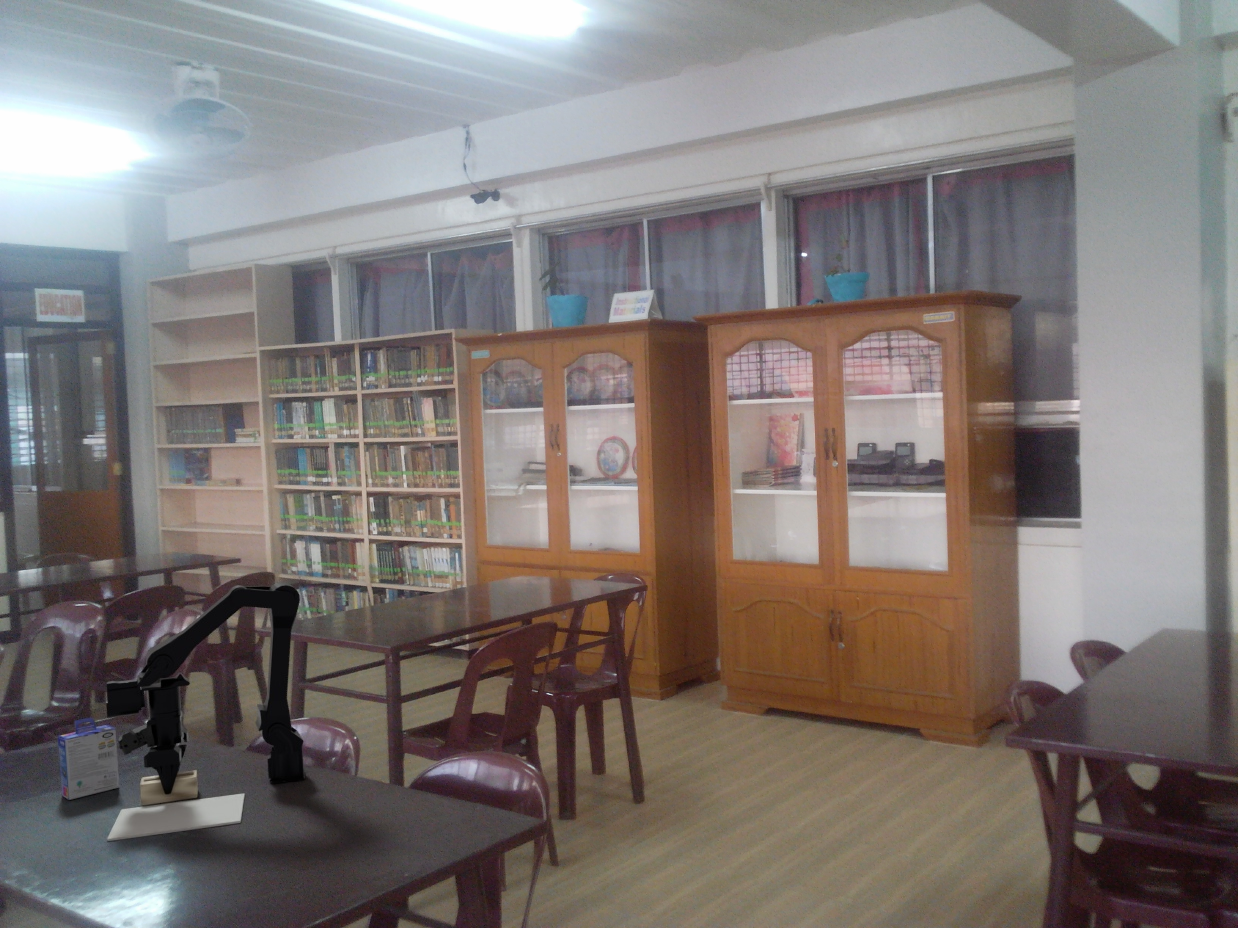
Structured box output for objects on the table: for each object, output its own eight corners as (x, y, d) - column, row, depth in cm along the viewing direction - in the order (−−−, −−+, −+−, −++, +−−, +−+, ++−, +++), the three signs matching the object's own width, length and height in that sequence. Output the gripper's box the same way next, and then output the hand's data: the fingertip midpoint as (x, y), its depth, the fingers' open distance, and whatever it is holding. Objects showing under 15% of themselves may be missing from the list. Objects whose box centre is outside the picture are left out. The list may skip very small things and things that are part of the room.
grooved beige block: (197, 789, 215) (196, 768, 215) (197, 797, 210) (196, 775, 210) (143, 797, 211) (141, 776, 211) (141, 805, 207) (140, 783, 207)
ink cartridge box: (111, 782, 222) (107, 712, 222) (121, 787, 218) (117, 716, 218) (59, 795, 215) (55, 723, 215) (69, 801, 211) (64, 727, 211)
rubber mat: (244, 795, 210) (244, 793, 210) (240, 822, 195) (240, 820, 195) (121, 811, 204) (121, 809, 204) (107, 840, 188) (107, 838, 188)
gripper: (127, 703, 217) (131, 780, 217) (112, 727, 199) (117, 810, 199) (186, 697, 220) (191, 773, 220) (177, 719, 202) (181, 802, 203)
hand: (169, 789), depth 211 cm, fingers closed on grooved beige block, 5 cm apart
